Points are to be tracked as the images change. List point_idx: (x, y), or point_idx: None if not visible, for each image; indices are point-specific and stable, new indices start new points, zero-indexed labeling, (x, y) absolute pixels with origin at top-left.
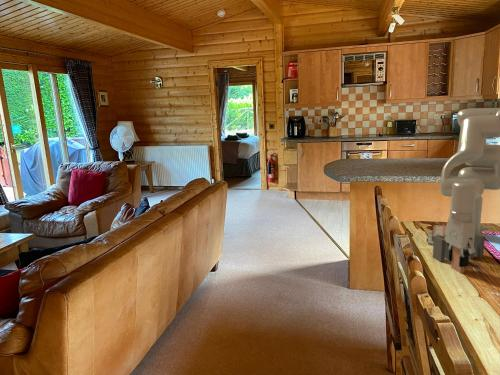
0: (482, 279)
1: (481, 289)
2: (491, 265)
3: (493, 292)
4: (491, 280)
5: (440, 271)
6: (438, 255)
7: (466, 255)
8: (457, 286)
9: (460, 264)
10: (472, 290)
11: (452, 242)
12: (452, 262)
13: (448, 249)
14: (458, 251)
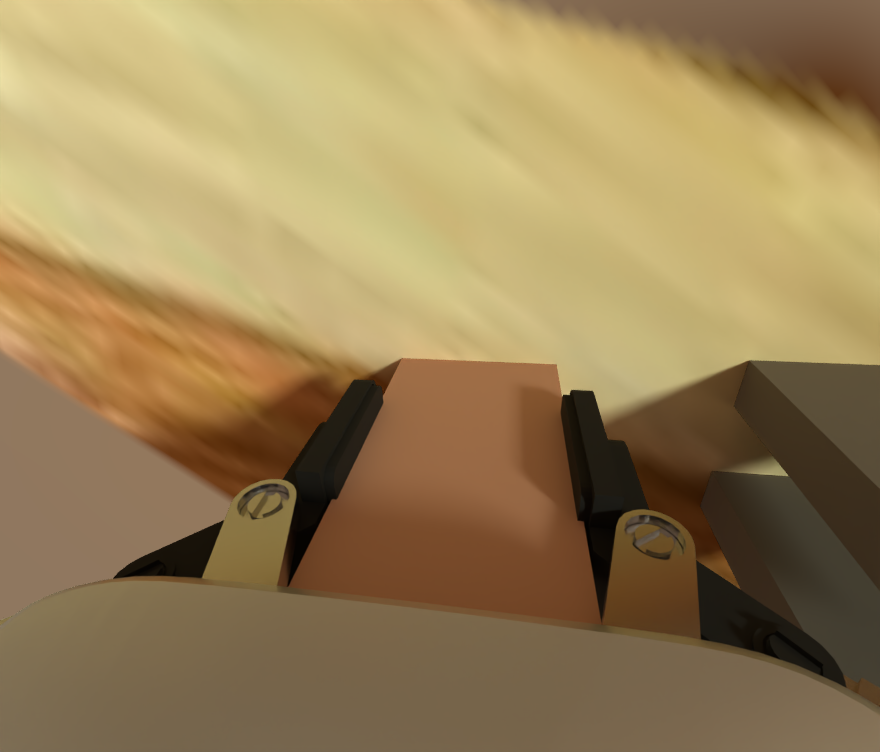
0: (254, 439)
1: (50, 298)
2: None
3: (16, 350)
4: (236, 482)
5: (497, 165)
6: (856, 402)
7: (192, 535)
8: (68, 93)
9: (345, 398)
10: (6, 199)
11: (398, 715)
12: (540, 402)
13: (842, 586)
14: (399, 553)
